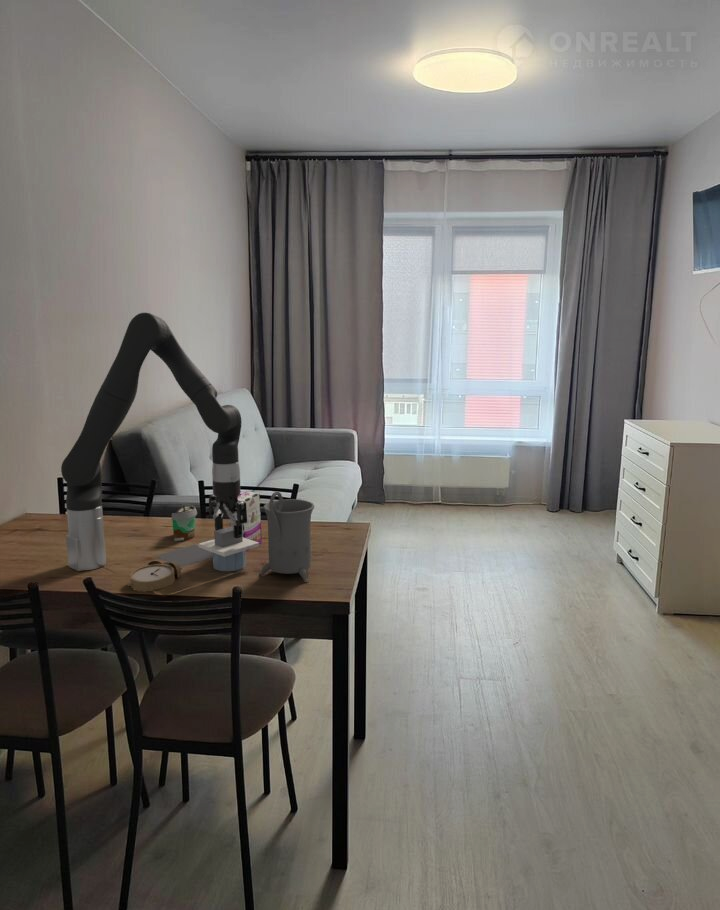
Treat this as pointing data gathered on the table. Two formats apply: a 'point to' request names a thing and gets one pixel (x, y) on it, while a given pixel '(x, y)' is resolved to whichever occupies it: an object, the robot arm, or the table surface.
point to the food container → (184, 523)
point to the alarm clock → (154, 576)
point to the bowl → (229, 561)
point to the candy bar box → (251, 516)
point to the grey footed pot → (288, 535)
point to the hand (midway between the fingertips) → (228, 534)
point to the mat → (186, 555)
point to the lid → (227, 543)
